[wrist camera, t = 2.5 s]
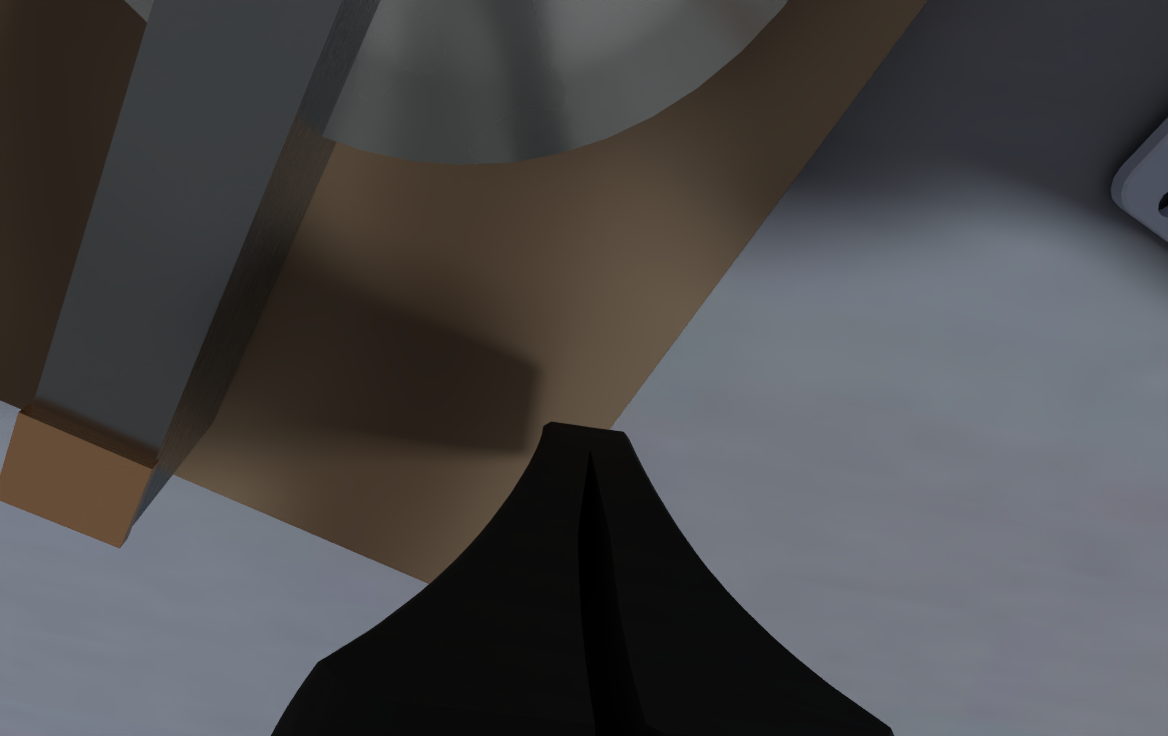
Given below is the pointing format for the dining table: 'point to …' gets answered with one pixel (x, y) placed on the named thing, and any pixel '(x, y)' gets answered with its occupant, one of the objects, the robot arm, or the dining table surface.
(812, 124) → the dial board
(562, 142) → the dial
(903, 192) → the dining table surface
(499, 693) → the robot arm
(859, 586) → the dining table surface
